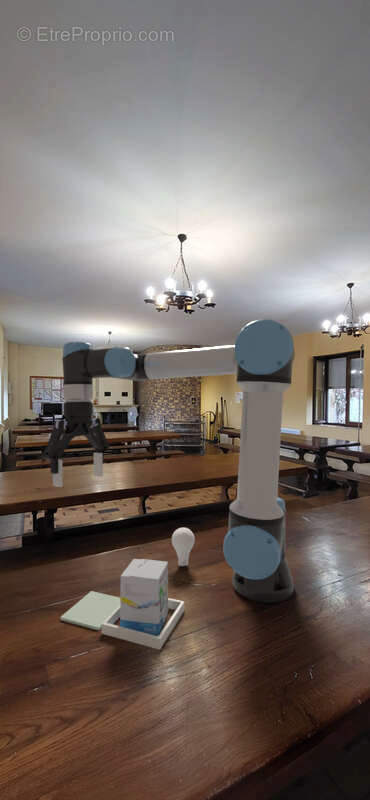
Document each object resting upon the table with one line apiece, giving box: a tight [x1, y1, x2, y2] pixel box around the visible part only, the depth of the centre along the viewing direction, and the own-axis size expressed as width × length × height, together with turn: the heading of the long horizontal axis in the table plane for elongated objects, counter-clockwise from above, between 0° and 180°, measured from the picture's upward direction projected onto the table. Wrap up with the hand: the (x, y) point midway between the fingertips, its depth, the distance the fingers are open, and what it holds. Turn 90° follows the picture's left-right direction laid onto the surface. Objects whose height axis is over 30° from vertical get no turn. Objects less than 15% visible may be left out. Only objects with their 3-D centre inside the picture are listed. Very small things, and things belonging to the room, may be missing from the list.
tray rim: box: [101, 597, 186, 650], centre depth 74 cm, size 13×13×2 cm
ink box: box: [119, 558, 169, 636], centre depth 74 cm, size 9×8×12 cm
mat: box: [59, 590, 120, 631], centre depth 78 cm, size 10×11×1 cm
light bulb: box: [171, 527, 196, 567], centre depth 98 cm, size 7×7×11 cm
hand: (79, 480), depth 90 cm, fingers open, 13 cm apart
